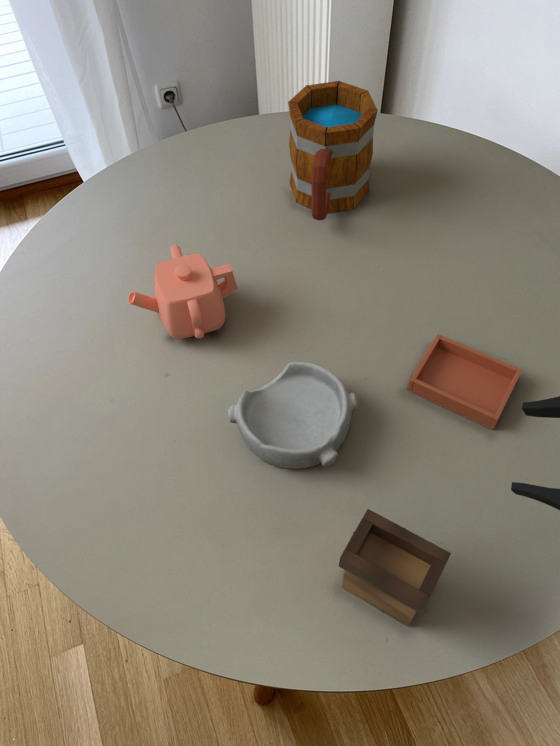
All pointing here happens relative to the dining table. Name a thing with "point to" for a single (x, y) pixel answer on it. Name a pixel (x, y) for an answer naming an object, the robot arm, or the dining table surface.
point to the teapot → (188, 294)
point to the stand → (395, 564)
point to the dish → (295, 417)
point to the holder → (464, 381)
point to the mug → (331, 146)
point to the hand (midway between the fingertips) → (519, 447)
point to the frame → (382, 578)
